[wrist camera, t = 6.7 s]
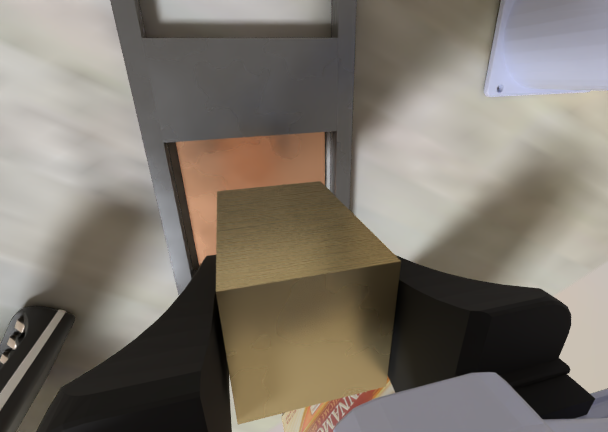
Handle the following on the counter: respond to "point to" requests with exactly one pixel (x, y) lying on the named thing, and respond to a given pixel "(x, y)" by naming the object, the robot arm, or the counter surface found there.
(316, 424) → the coffeecake box
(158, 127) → the gray rectangular frame
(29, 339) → the battery charger
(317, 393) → the brass block
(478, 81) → the counter surface
